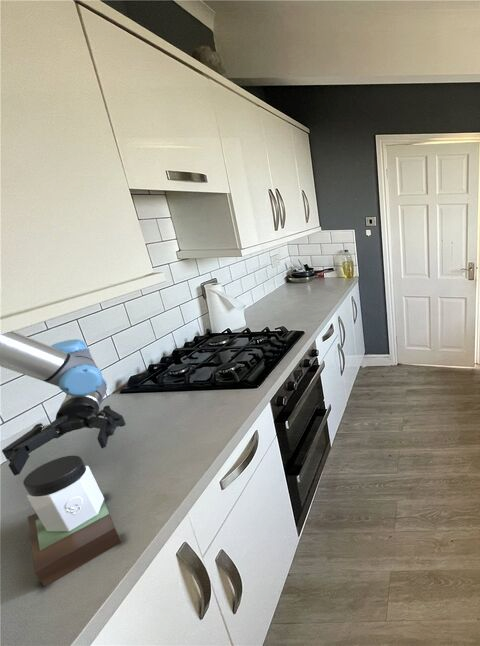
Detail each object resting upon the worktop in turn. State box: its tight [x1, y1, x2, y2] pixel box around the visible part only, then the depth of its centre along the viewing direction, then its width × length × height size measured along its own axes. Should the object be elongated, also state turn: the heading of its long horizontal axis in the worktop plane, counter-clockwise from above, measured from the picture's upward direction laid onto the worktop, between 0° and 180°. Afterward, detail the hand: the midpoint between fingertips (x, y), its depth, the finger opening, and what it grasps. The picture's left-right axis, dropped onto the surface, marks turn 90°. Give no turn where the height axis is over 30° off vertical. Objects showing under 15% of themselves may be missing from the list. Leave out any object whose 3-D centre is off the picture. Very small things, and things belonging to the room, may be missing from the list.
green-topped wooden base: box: [27, 483, 122, 588], centre depth 72 cm, size 18×11×5 cm, turn 50°
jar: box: [22, 455, 105, 532], centre depth 70 cm, size 9×8×12 cm
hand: (59, 455), depth 75 cm, fingers open, 13 cm apart
